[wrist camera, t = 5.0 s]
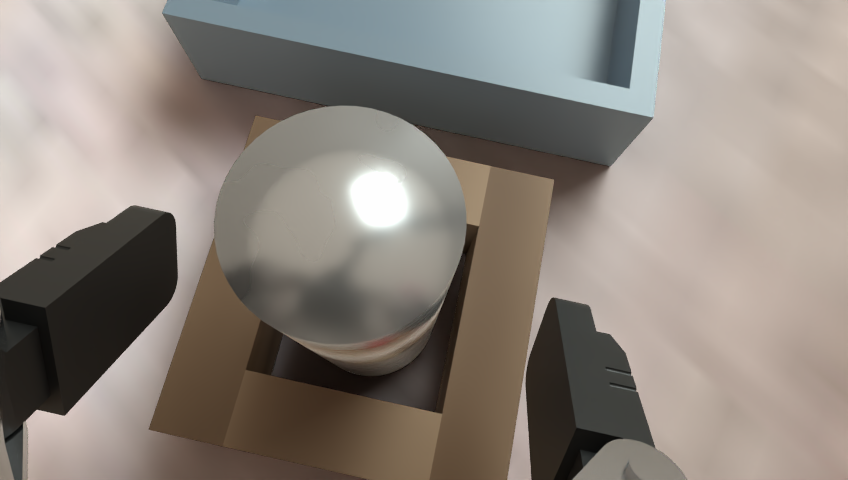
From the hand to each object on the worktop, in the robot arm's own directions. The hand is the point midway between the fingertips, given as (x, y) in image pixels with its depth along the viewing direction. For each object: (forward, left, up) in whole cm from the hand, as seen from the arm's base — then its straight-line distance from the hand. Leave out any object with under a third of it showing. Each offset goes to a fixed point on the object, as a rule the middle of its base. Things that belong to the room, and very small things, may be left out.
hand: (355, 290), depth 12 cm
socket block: (0, -1, -6) cm, 6 cm away
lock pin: (0, -1, -6) cm, 6 cm away
